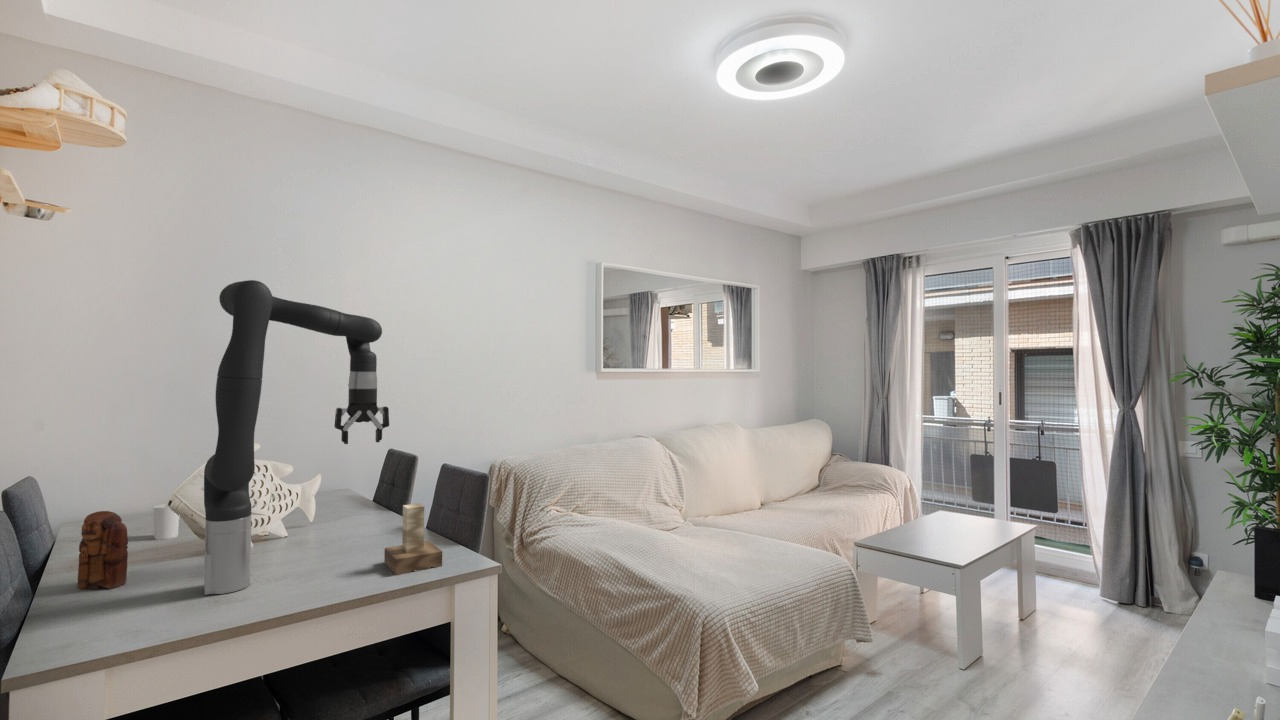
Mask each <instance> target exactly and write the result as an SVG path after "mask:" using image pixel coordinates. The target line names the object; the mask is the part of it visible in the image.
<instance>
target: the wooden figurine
mask: <svg viewBox="0 0 1280 720" xmlns="http://www.w3.org/2000/svg"><path fill="white" fill-rule="evenodd" d="M122 521H123V520H122V518H121V516H120V515H118V514H117V513H115V512H113V511H110V510H100V511H95V512H92V513H90V514H88V515H86V517H85V518H84V520H83V524H82V525H81V531H80V532H81V533H80V535H81V537H82V538H81V541H80V543H79V545H78V551H79V555H78V568H77V569H78V570H77V571H78V573H77V588H78V589H79V590H101V589H109V590H110V589H115V588H117V587H119V586H122V585H125V584H126V582H127V573H128V557H129V553H128V549H129V547H128V544H129V537H128V536H129V535H128V527H127V525H126V524H124V523H123V522H122Z"/></svg>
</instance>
